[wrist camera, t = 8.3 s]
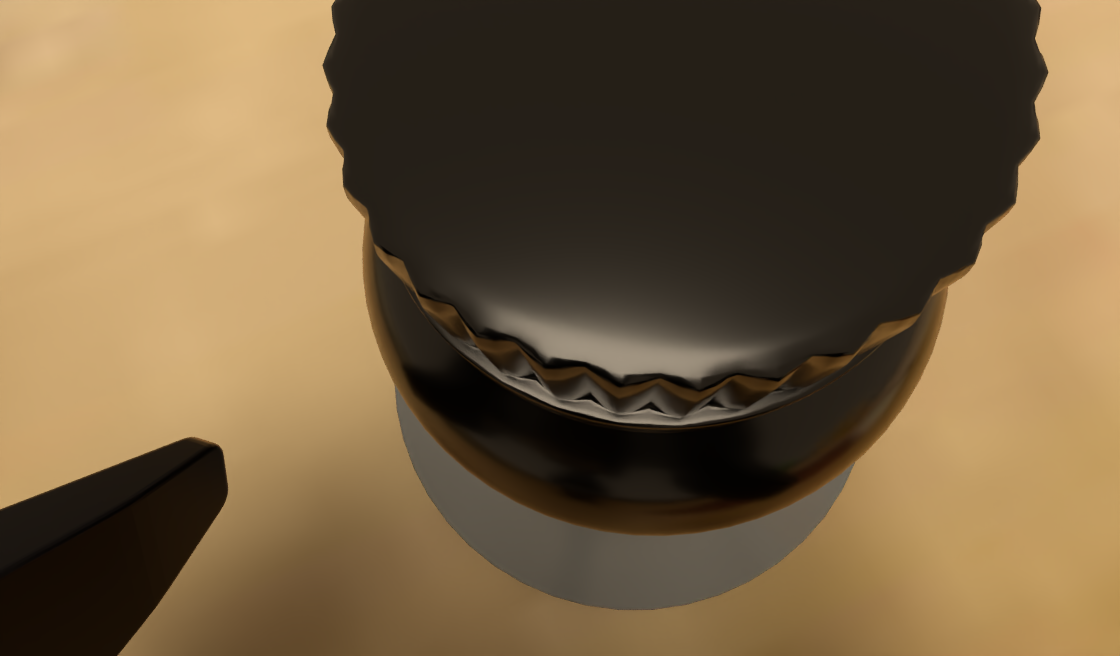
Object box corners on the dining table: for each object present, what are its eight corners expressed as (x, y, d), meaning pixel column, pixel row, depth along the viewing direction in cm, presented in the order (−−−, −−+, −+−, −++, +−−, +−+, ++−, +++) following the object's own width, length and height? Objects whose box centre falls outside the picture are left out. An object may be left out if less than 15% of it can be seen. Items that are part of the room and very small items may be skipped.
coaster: (756, 699, 15) (762, 707, 14) (322, 474, 17) (311, 473, 16) (927, 251, 17) (938, 242, 16) (521, 97, 19) (518, 84, 18)
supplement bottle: (428, 405, 16) (-45, 163, 5) (591, 179, 17) (532, -472, 6) (679, 584, 15) (884, 866, 3) (839, 326, 16) (1422, -147, 4)
